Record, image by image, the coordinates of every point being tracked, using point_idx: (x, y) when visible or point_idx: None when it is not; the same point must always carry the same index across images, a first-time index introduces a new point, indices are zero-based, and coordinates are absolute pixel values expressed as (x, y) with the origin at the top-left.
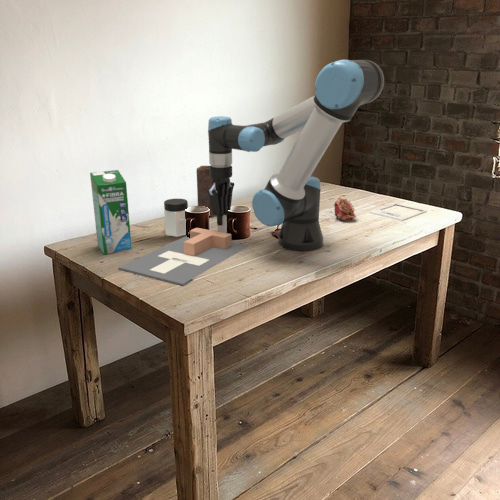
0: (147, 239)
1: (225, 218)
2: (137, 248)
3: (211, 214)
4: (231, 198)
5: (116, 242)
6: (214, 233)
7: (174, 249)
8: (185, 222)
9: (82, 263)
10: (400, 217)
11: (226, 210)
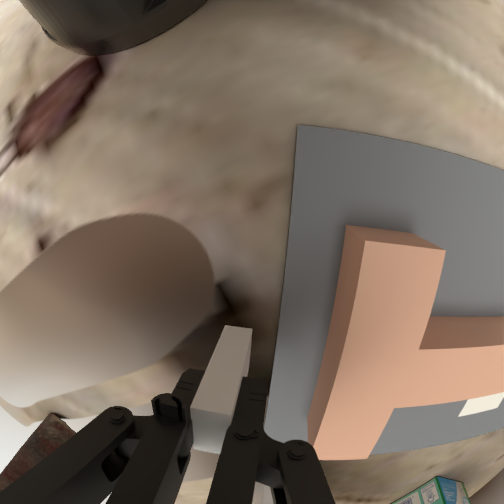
0: (347, 498)
1: (211, 392)
2: (423, 476)
3: (68, 433)
4: (36, 470)
5: (458, 498)
6: (384, 353)
7: (446, 412)
8: (272, 500)
9: (500, 468)
10: None
11: (164, 436)
